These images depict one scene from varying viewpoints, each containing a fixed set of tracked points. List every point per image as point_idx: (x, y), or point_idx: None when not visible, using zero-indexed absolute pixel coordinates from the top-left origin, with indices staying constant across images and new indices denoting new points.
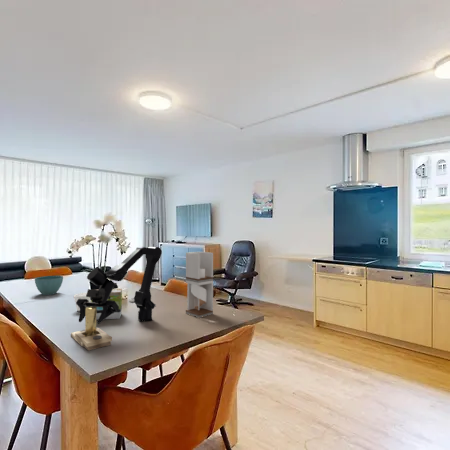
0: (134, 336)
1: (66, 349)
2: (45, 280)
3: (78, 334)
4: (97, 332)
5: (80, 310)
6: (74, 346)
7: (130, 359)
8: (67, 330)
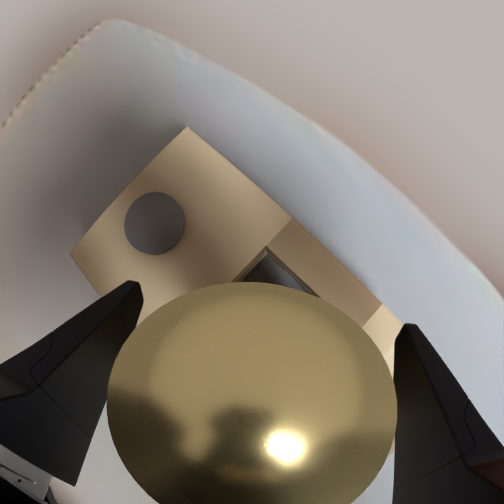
0: None
1: (340, 159)
2: None
3: (359, 296)
4: None
5: (488, 437)
6: (320, 207)
7: (12, 122)
8: None
